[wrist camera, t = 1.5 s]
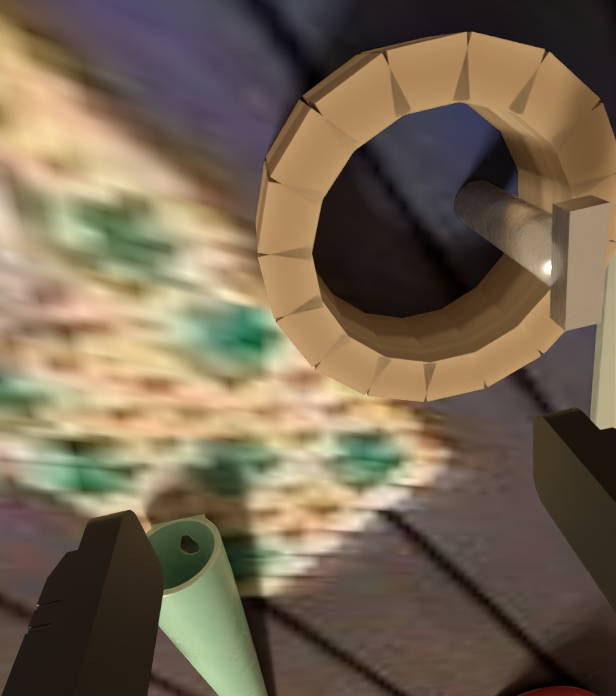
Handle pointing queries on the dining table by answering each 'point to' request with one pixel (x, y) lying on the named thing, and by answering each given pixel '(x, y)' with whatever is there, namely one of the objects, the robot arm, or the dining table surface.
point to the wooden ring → (506, 275)
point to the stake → (547, 244)
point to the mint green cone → (205, 607)
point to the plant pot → (558, 691)
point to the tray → (605, 356)
